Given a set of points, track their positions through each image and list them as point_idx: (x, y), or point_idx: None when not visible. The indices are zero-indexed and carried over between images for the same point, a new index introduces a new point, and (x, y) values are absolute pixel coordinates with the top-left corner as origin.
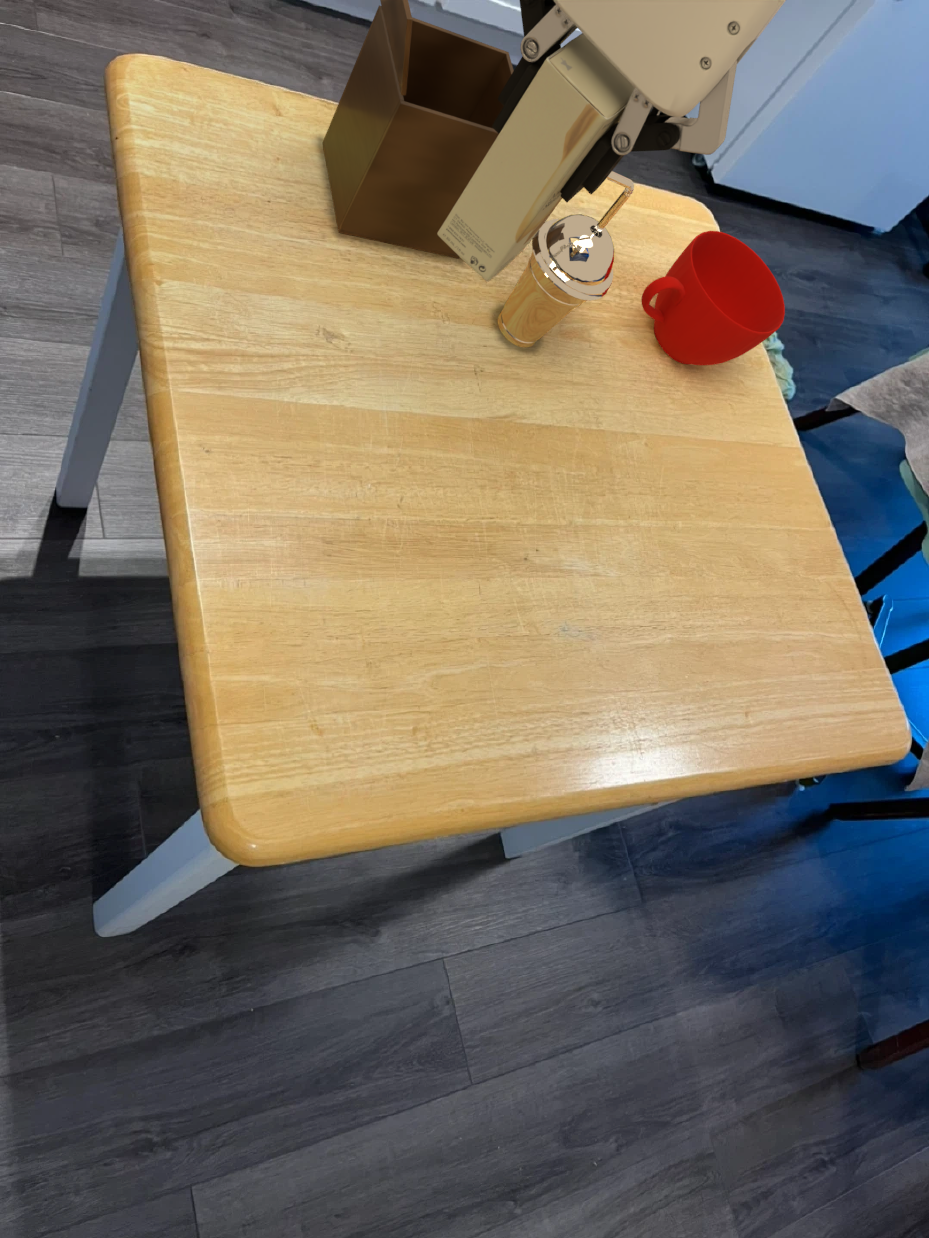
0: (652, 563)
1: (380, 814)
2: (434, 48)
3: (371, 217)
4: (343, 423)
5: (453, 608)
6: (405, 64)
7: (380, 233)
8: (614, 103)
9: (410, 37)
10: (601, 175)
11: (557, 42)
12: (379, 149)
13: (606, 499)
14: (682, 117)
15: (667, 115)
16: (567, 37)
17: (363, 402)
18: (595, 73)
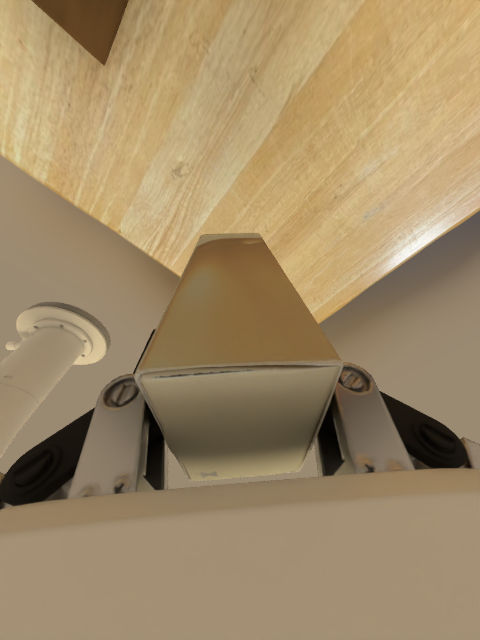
0: (429, 107)
1: None
2: None
3: (100, 29)
4: (221, 216)
5: (310, 252)
6: None
7: (114, 21)
8: (296, 455)
9: None
10: None
11: (150, 416)
12: (42, 8)
13: (385, 84)
14: (453, 466)
15: (409, 449)
16: (144, 404)
17: (219, 194)
18: (242, 452)
